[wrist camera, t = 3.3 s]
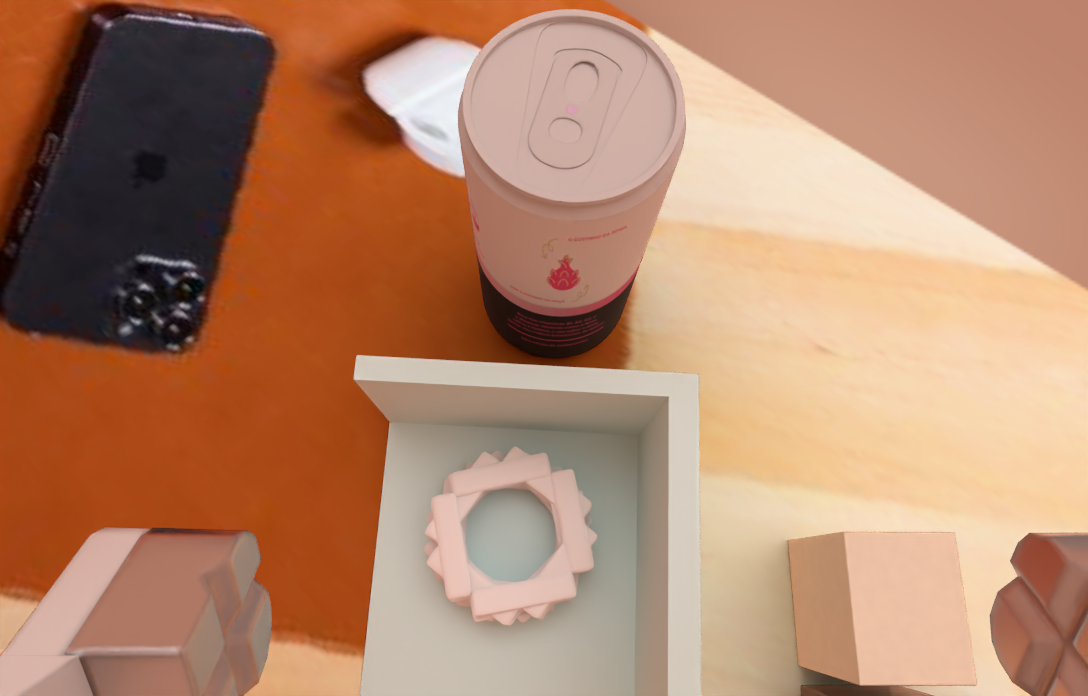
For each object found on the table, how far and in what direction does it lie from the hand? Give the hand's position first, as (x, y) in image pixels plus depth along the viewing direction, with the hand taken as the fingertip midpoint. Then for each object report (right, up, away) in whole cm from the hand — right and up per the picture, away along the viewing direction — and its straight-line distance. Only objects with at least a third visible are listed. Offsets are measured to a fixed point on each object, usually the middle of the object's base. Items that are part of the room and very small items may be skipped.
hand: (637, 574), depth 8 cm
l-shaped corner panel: (-2, -6, +24) cm, 25 cm away
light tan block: (+11, -8, +24) cm, 28 cm away
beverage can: (-1, +5, +28) cm, 28 cm away
